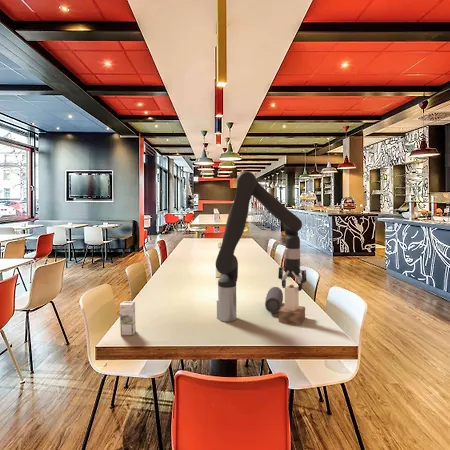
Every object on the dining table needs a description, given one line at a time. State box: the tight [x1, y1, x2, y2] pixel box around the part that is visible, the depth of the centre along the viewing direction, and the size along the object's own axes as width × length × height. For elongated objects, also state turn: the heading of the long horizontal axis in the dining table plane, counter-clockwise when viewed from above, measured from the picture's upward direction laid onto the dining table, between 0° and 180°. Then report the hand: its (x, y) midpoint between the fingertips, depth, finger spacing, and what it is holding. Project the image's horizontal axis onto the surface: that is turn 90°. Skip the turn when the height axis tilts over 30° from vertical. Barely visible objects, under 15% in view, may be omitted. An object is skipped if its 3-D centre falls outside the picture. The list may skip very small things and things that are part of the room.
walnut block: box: [278, 304, 306, 326], centre depth 173 cm, size 11×11×6 cm
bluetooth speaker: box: [264, 286, 284, 314], centre depth 191 cm, size 23×9×10 cm, turn 168°
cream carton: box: [284, 284, 300, 311], centre depth 173 cm, size 5×5×12 cm
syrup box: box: [119, 300, 137, 337], centre depth 157 cm, size 6×6×14 cm
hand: (291, 289), depth 173 cm, fingers open, 8 cm apart
